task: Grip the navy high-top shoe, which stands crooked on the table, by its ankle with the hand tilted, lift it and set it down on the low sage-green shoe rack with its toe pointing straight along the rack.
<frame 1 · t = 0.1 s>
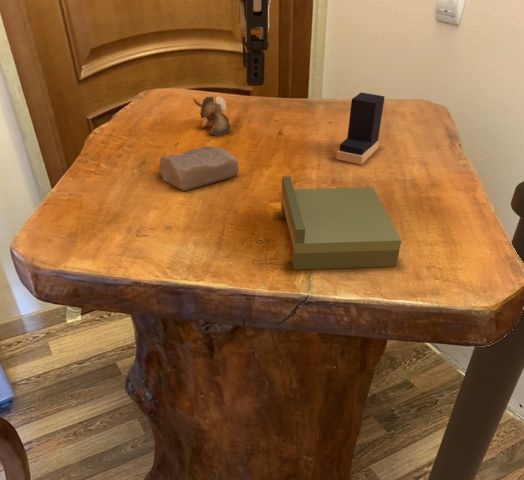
hand: (252, 75, 73), 20 cm above the table, tool pointing down, fingers open, 8 cm apart
eagle figurine: (212, 128, 114), on the table
high-top shoe: (357, 153, 104), on the table
stone block: (197, 176, 96), on the table
shoe rack: (334, 238, 80), on the table
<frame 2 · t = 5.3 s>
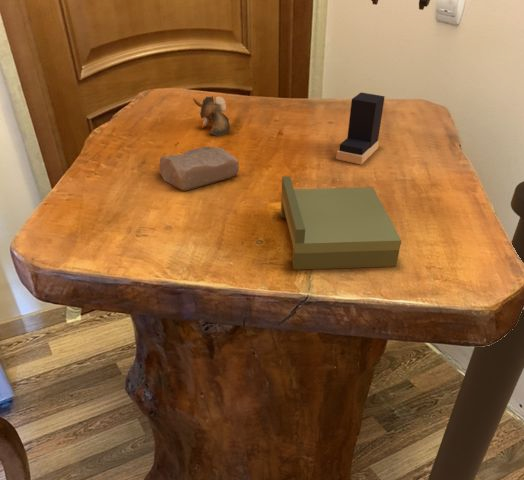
hand: (397, 4, 98), 22 cm above the table, tool tilted 45°, fingers open, 8 cm apart
nothing on the table moved.
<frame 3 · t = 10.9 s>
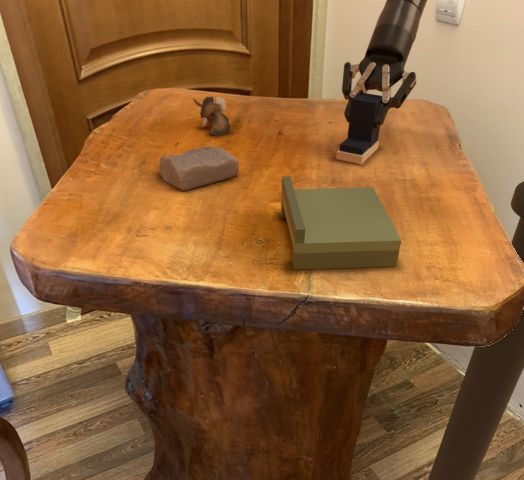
hand: (361, 122, 101), 6 cm above the table, tool tilted 45°, fingers closed on high-top shoe, 4 cm apart
high-top shoe: (357, 153, 104), on the table, touching gripper
everything else where it was.
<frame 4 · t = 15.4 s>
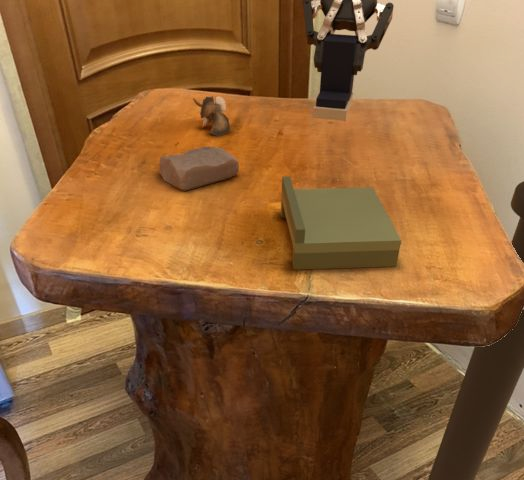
hand: (337, 70, 83), 18 cm above the table, tool tilted 45°, fingers closed on high-top shoe, 4 cm apart
high-top shoe: (333, 109, 86), point 12 cm above the table, touching gripper
everything else where it was.
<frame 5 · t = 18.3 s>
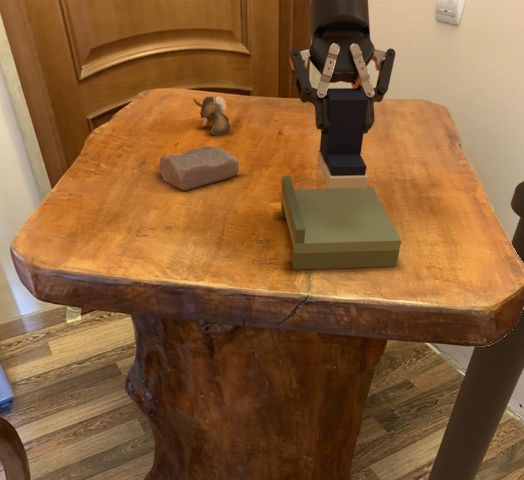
hand: (345, 130, 71), 15 cm above the table, tool tilted 45°, fingers closed on high-top shoe, 4 cm apart
high-top shoe: (341, 173, 74), point 10 cm above the table, touching gripper
everything else where it was.
when the fingers open (10 cm above the table, at t = 20.3 s): high-top shoe stays where it is, resting on shoe rack.
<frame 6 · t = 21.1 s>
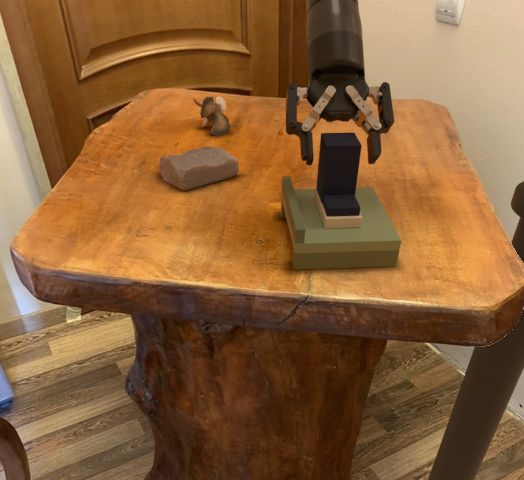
hand: (341, 162, 74), 11 cm above the table, tool tilted 45°, fingers open, 8 cm apart
high-top shoe: (336, 212, 78), point 4 cm above the table, touching shoe rack
everything else where it was.
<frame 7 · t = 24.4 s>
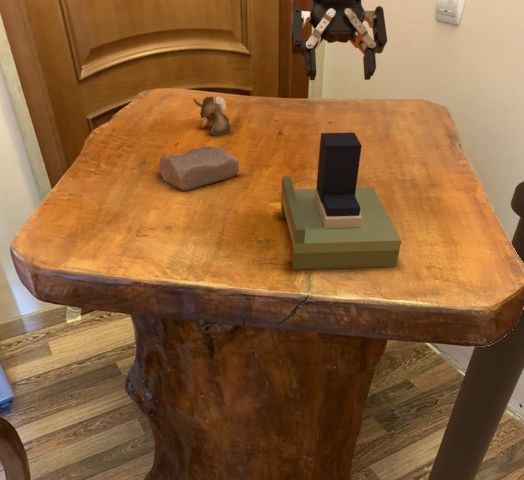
hand: (341, 77, 84), 17 cm above the table, tool tilted 45°, fingers open, 8 cm apart
nothing on the table moved.
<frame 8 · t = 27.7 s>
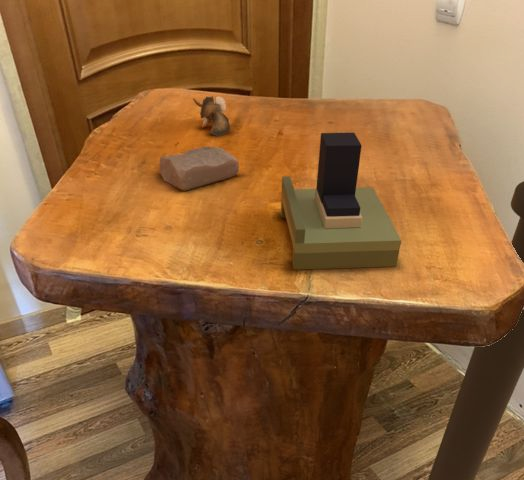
nothing on the table moved.
at the end: high-top shoe inside the target area on the shoe rack (0.1 cm from its centre), point 4.0 cm above the shoe rack's base; high-top shoe tilted 0°; the gripper is holding nothing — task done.
